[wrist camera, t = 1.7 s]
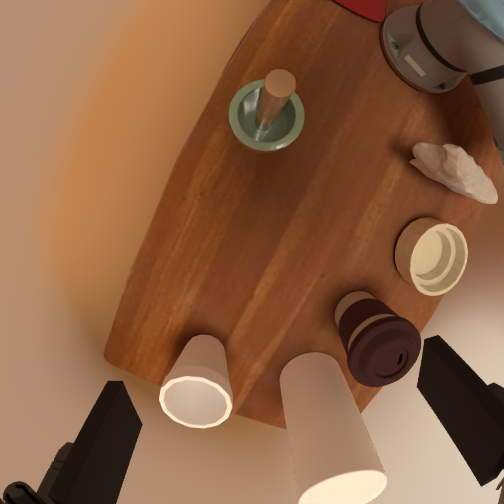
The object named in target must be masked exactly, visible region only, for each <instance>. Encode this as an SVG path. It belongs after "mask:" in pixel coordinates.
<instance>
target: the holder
mask: <svg viewBox="0 0 504 504" xmlns="http://www.w3.org/2000/svg"><path fill="white" fill-rule="evenodd" d="M264 81H265V80H256V81H254V82H251V83H248V84H246V85H245V86H244V87H242V88H241V89H240V90H238V92H237V93H236V94H235V96H234V97H233V99H232V101H231V104H230V108H229V123H230V126H231V129H232V132H233V134H234V136H235V138H236V140H237V141H238V142H239V143H240V145H242V146H243V147H244V148H245V149H247V150H249V151H251V152H254V153H258V154H268V153H273V152H275V151H278V150H280V149H282V148H284V147H286V146H288V145H289V144H290V143H292V142H293V141H294V140H295V139H296V138H297V137H298V135H299V134H300V132H301V130H302V128H303V124H304V119H305V115H304V107H303V104H302V102H301V100H300V98H299V96H298V95H297V94H296V93H295V92H293V94H292V95H291V97H290V98H289V100H288V101H287V103H286V104H285V106H284V107H283V109H282V110H281V112H280V113H279V115H278V116H277V118H276V119H275V121H274V122H273V124H272V126H271V127H270V128H269V129H268V130H266V131H261V130H259V129H257V127H256V126H255V120H256V115H257V111H258V107H259V102H260V98H261V94H262V89H263V85H264Z"/></svg>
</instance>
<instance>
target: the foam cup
mask: <svg viewBox="0 0 504 504" xmlns="http://www.w3.org/2000/svg"><path fill="white" fill-rule="evenodd" d="M159 401H160V404H161V406H162V408H163V411H164V412H165V413H166V414H167V415H169V416H170V417H171V418H172V419H173V420H174V421H176V422H178V423H181V424H183V425H186V426H188V427H196V428H208V427H212V426H217V425H219V424H220V423H222V422H223V421H224V420H226V419H227V418H228V417H229V414H230V412H231V409H232V403H233V394H232V391H231V387H230V384H229V377H228V370H227V363H226V356H225V351H224V346H223V345H222V343H221V342H220V341H219V340H218V339H217V338H214V337H212V336H210V335H198V336H195V337H193V338H192V339H191V340H190V341H189V342H188V343H187V344H186V346H185V348H184V349H183V351H182V353H181V354H180V356H179V358H178V359H177V361H176V363H175V364H174V366H173V368H172V370H171V371H170V373H169V374H168V375H167V376H166V377H165V379H164V382H163V385H162V388H161V392H160V397H159Z"/></svg>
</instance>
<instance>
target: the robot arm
mask: <svg viewBox="0 0 504 504" xmlns="http://www.w3.org/2000/svg"><path fill="white" fill-rule="evenodd" d="M380 42H381V47H382V50H383V53H384V55H385V57H386V59H387V61H388V63H389V64H390V66H391V68H392V69H393V70H394V71H395V73H396V74H397V75H398V76H399V77H400V78H401V79H402V80H403V81H404V82H406V83H407V84H408V85H410V86H411V87H413V88H415V89H417V90H419V91H421V92H424V93H429V94H440V93H443V92H447V91H449V90H451V89H453V88H454V87H456V86H457V85H458V84H459V83H460V82H461V80H462V79H463V78H464V77H465V76H466V75H467V73H468V75H469V77H470V79H471V81H472V84H473V86H474V88H475V91H476V93H477V95H478V98H479V100H480V102H481V105H482V107H483V110H484V112H485V115H486V117H487V120H488V122H489V125H490V128H491V131H492V133H493V136H494V139H493V140H494V143H495V146H496V147H497V149H498V150H499V153H500V156H501V159H502V162H503V165H504V0H426V1H425V2H423V3H422V4H418V5H413V6H408V7H403V8H400V9H397V10H395V11H394V12H392V13H391V14H390V15H389V16H388V17H387V18H386V19H385V20H384V22H383V24H382V26H381V30H380ZM417 388H418V389H419V391H420V392H421V394H422V395H423V396H424V398H425V399H426V401H427V402H428V404H429V405H430V407H431V408H432V410H433V411H434V413H435V414H436V416H437V417H438V419H439V420H440V422H441V423H442V425H443V426H444V428H445V430H446V431H447V433H448V434H449V436H450V437H451V439H452V440H453V442H454V443H455V445H456V447H457V448H458V450H459V451H460V453H461V455H462V456H463V457H464V459H465V461H466V462H467V464H468V466H469V467H470V469H471V471H472V472H473V474H474V476H475V477H476V479H477V481H478V482H479V484H480V486H483V485H485V484H487V483H489V482H490V481H492V480H494V479H496V478H497V477H498V475H499V474H500V472H501V471H502V469H504V388H503V387H501V386H500V385H498V384H496V383H491V384H489V385H486V384H485V382H484V381H483V380H482V379H481V378H480V377H479V376H478V375H477V374H476V373H475V372H474V371H473V370H472V369H471V368H470V367H469V365H468V364H466V362H465V361H464V360H462V358H461V357H460V356H459V355H458V354H457V353H456V352H455V351H454V350H453V349H452V348H451V347H450V346H449V345H448V344H447V343H446V342H445V341H444V340H443V339H442V338H441V337H440V336H439V335H437V336H434V337H430V338H426V339H424V346H423V353H422V360H421V366H420V372H419V377H418V383H417ZM141 427H142V422H141V420H140V418H139V416H138V414H137V412H136V410H135V408H134V406H133V404H132V401H131V399H130V397H129V395H128V392H127V390H126V388H125V385H124V383H123V381H108V382H107V383H106V385H105V387H104V389H103V390H102V392H101V394H100V396H99V397H98V399H97V401H96V403H95V405H94V406H93V408H92V410H91V412H90V414H89V415H88V417H87V419H86V421H85V423H84V425H83V427H82V428H81V430H80V432H79V434H78V436H77V438H76V440H75V442H74V443H69V442H67V443H66V444H65V445H64V446H63V447H61V448H60V449H59V451H58V452H57V454H56V456H55V458H54V461H53V462H52V463H51V466H50V468H49V469H48V471H47V473H46V475H45V477H44V479H43V481H42V483H41V485H40V487H39V488H38V491H37V493H36V492H35V491H34V490H33V489H32V488H31V487H30V486H29V485H27V484H26V483H24V482H21V481H18V482H13V483H12V484H10V485H8V486H7V487H6V489H5V491H4V493H3V500H4V501H5V502H4V501H2V499H1V498H0V504H116V503H117V499H118V496H119V493H120V490H121V487H122V484H123V481H124V478H125V475H126V471H127V469H128V466H129V462H130V459H131V457H132V453H133V451H134V448H135V444H136V442H137V439H138V436H139V433H140V430H141ZM501 486H502V489H501V494H500V498H499V502H498V504H504V478H503V479H502V480H501V482H500V483H499V484H498V486H497V488H496V490H499V488H500V487H501Z"/></svg>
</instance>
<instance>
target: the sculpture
mask: <svg viewBox="0 0 504 504" xmlns="http://www.w3.org/2000/svg"><path fill="white" fill-rule="evenodd" d="M412 151H413V154H414V156H415V157H416V158H417V159H413V160H411V161H410V162H409V163H410V164H412V165H414V166H415V167H416V168H418V169H419V170H420V171H421V172H422V173H423V174H424V175H425V176H427V177H428V178H431V179H433V180H435V181H437V182H440V183H442V184H444V185H445V186H446V187H448V188H449V189H450V190H452V191H454V192H457V193H460V194H463V195H465V196H467V197H469V198H472V199H475V200H477V201H479V202H481V203H486V204H496V202H497V199H498V196H497V192H496V189H495V187H494V185H493V184H492V181H491V180H490V178H489V177H488V176H487V175H485V174H484V172H483V170H482V169H481V167H480V166H478V165H476V163H475V162H474V159H473V157H471V156H470V155H467V153H466V152H465V151H464V150H463V149H462V148H461V147H459V146H456V145H453V144H445V145H443V146H439V145H435V144H431V143H425V142H418V143H417V144H415V146H414V147H413V149H412Z"/></svg>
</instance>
